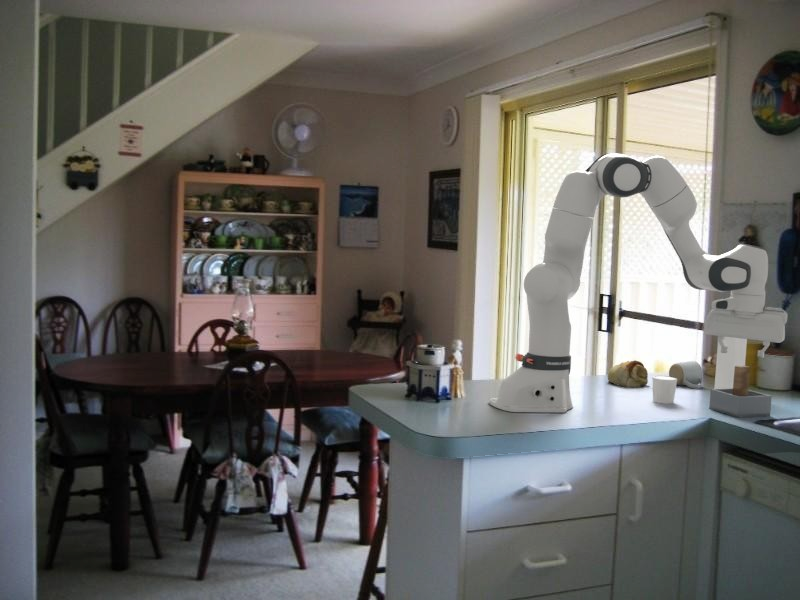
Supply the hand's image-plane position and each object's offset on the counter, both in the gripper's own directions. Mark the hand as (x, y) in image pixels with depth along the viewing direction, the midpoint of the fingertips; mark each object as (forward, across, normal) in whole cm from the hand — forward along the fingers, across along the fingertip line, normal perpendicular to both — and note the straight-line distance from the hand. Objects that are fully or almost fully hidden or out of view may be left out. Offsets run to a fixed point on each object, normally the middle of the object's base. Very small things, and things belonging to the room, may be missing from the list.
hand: (742, 355), depth 233 cm
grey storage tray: (+16, -1, 0) cm, 16 cm away
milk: (+16, +7, -26) cm, 31 cm away
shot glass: (+16, +20, 0) cm, 26 cm away
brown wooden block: (+15, -1, 0) cm, 15 cm away
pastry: (+17, +37, -22) cm, 46 cm away
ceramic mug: (+16, +20, -33) cm, 42 cm away
